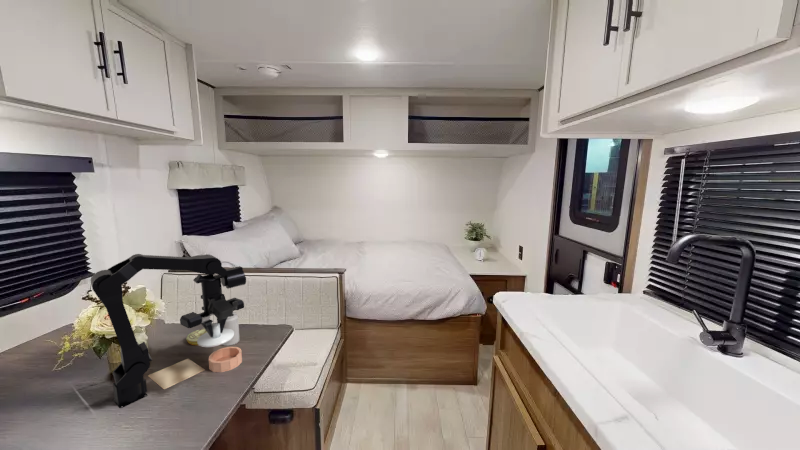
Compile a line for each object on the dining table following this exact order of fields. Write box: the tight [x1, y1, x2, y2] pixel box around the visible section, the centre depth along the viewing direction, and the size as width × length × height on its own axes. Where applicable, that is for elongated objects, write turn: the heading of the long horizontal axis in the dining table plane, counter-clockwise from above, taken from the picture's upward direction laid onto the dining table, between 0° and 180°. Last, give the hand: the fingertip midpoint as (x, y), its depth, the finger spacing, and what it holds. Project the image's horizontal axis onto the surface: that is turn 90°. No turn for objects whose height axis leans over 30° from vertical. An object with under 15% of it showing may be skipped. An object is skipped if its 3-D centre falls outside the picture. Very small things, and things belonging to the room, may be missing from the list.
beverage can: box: [221, 311, 240, 347], centre depth 123 cm, size 6×6×12 cm
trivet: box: [147, 358, 206, 390], centre depth 104 cm, size 12×12×1 cm
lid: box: [197, 322, 234, 348], centre depth 107 cm, size 11×11×5 cm
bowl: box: [208, 346, 243, 373], centre depth 109 cm, size 10×10×4 cm
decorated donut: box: [185, 327, 207, 346], centre depth 125 cm, size 10×11×4 cm
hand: (216, 334), depth 107 cm, fingers closed on lid, 3 cm apart
